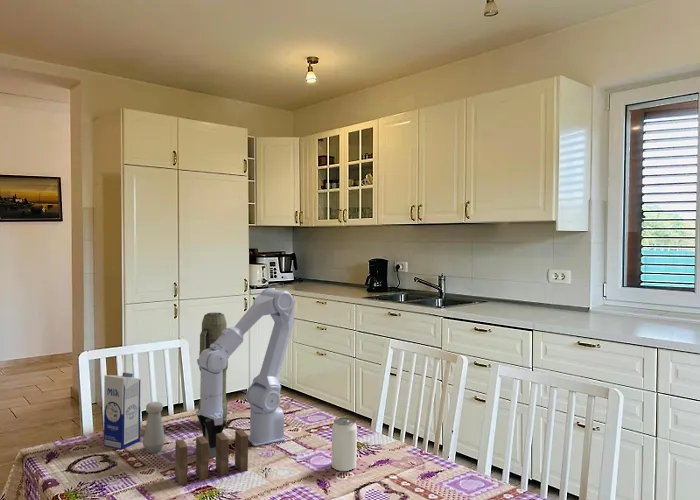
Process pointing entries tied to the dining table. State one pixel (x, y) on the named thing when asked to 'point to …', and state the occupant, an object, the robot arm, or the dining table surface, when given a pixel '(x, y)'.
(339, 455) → the can
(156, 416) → the salt shaker
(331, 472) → the dining table surface
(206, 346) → the thermos
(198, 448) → the domino
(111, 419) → the milk carton
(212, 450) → the domino
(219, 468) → the domino
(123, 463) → the dining table surface
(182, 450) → the domino
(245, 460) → the domino
